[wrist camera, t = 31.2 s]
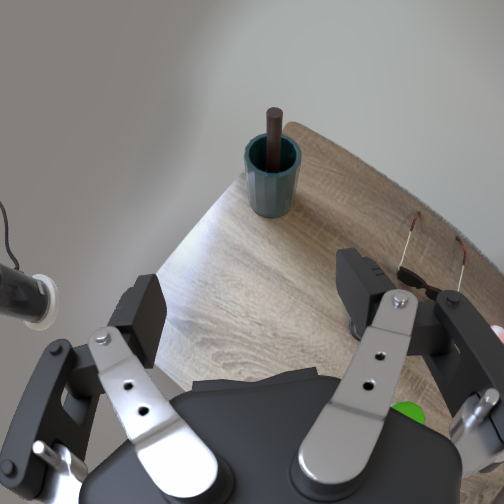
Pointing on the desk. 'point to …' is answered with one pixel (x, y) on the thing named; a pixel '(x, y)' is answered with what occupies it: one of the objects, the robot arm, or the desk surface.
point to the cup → (410, 410)
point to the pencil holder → (272, 177)
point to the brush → (274, 139)
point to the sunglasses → (415, 280)
